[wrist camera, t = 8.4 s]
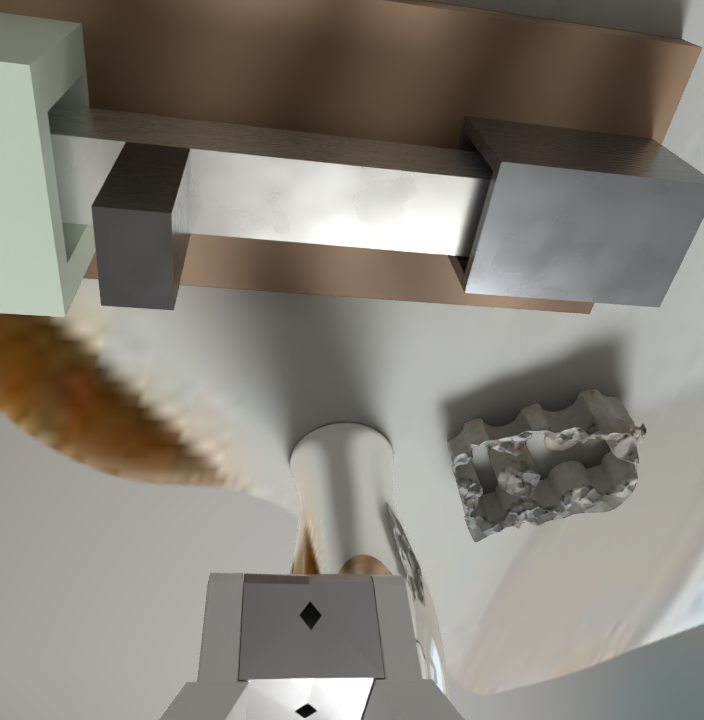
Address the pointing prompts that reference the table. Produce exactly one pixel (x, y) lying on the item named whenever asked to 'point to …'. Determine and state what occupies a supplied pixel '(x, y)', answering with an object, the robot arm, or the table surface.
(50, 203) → the socket
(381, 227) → the light grey bar piece
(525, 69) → the base board
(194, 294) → the table surface
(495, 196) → the sleeve
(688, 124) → the table surface
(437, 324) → the table surface
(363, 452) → the beer glass
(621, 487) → the egg carton
